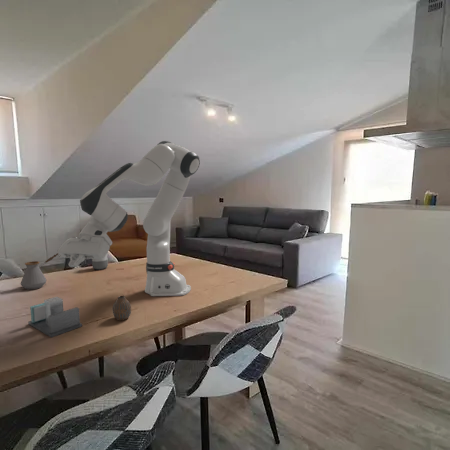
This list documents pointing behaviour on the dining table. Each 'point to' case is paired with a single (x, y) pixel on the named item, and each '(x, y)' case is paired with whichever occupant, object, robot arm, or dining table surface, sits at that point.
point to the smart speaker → (100, 263)
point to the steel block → (52, 307)
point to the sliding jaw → (37, 312)
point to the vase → (121, 308)
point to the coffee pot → (34, 275)
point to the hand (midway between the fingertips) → (72, 266)
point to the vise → (59, 322)
